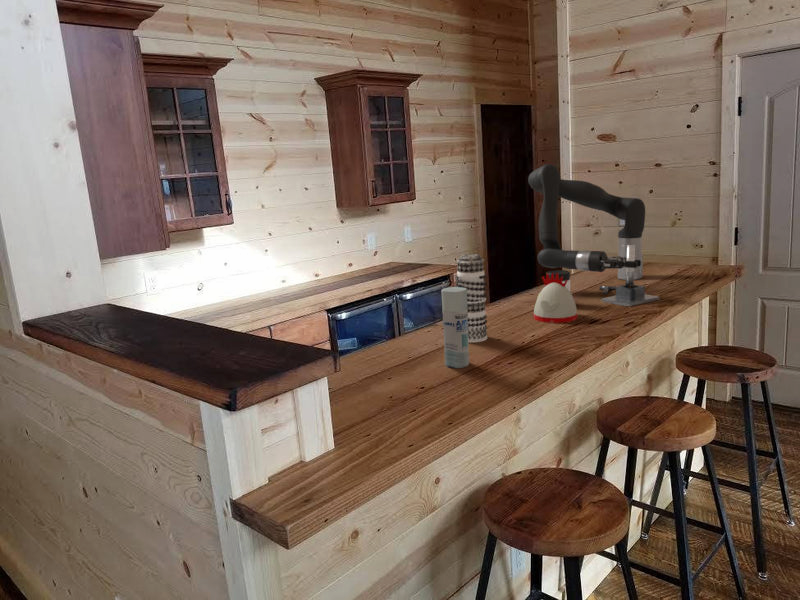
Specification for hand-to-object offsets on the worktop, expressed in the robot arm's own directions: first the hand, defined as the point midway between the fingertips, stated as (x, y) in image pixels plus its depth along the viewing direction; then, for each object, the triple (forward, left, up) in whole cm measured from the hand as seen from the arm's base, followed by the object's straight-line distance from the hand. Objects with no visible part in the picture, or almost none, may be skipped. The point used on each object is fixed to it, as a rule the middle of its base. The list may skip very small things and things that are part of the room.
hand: (638, 264), depth 218 cm
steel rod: (+1, -3, -9) cm, 10 cm away
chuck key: (-5, -19, -13) cm, 23 cm away
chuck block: (+1, -3, -13) cm, 14 cm away
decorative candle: (+72, -1, -13) cm, 73 cm away
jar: (+24, -15, -13) cm, 31 cm away
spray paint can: (+90, +16, -13) cm, 92 cm away
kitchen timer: (+37, -3, -14) cm, 39 cm away
